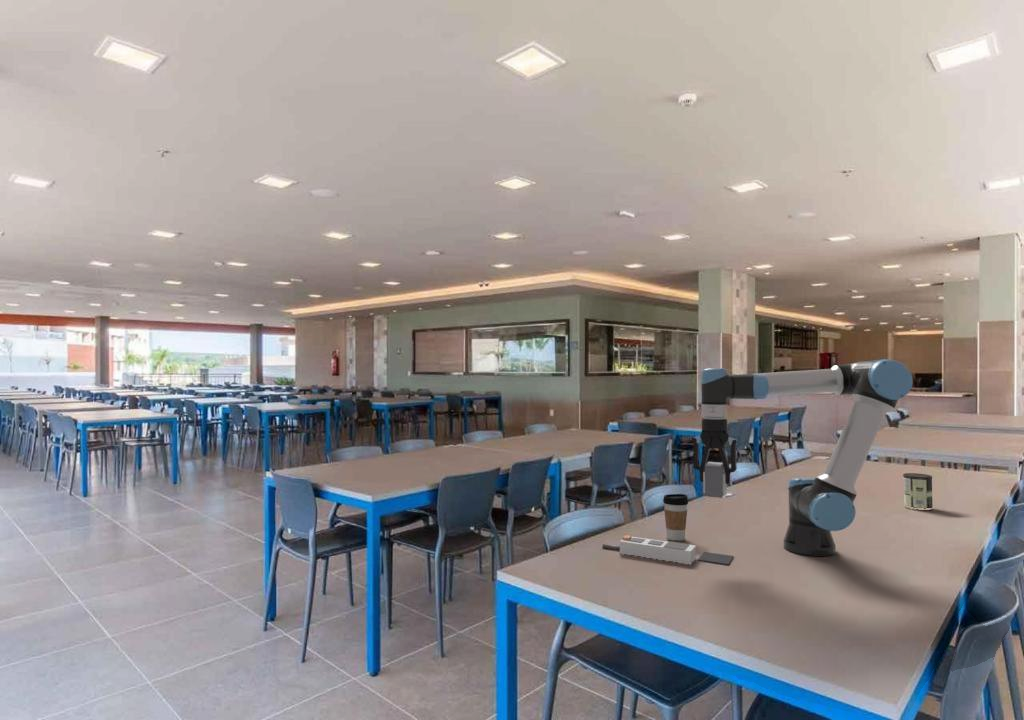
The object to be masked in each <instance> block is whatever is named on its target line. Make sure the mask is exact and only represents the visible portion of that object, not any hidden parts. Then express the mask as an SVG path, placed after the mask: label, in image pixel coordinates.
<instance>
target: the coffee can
mask: <svg viewBox="0 0 1024 720" xmlns="http://www.w3.org/2000/svg"><path fill="white" fill-rule="evenodd" d="M902 477H903V482H902V483H903V506H904V505H906V506H909V507H913V508H924V509H926V508H932V507H933V476H932V475H930V474H926V473H925V474H924V473H913V472H908V473H907V472H906V473H903V474H902Z"/></svg>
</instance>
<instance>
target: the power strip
mask: <svg viewBox="0 0 1024 720" xmlns="http://www.w3.org/2000/svg"><path fill="white" fill-rule="evenodd" d="M606 548H609V549H608V550H613V549H616V550H615V551H619V550H620V551H619V554H620V553H622V554H621V555H624V554H629V555H628V556H630V555H635V556H634V557H637V556H641V557H640V558H643V557H646V558H645V559H649V558H653V559H652V560H656V559H658V560H657V561H662V560H665V561H664V562H669V561H673V562H672V563H675V562H678V563H677V564H682V563H683V564H682V565H688V564H689V566H690V565H692V564H693V563H694V562H695V560H696V558H697V551H696V550H697V546H696V544H695V545H694V544H690V543H683V542H678V541H666V540H660V539H651V538H646V537H645V538H644V537H638V536H637V537H636V536H632V535H627V534H625V535H624V536H622V539H621V540H620V541H619V546H618V545H611V544H602V549H606ZM692 562H693V563H692Z"/></svg>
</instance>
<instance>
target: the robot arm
mask: <svg viewBox="0 0 1024 720" xmlns="http://www.w3.org/2000/svg"><path fill="white" fill-rule="evenodd" d="M700 380H701V381H700V386H701V389H700V391H701V417H703V418H702V419H701V433H700V435H699V436H693V437H692V438H691V441H692V445H693V469H694V470H697V471H699V481H700V482H701V483H703V484H702V486H703V490H702V491H703V492H702V493H703V494H705V465H706V463H707V462H708V458H709V456H710V451H711V449H717V450H718V452H719V455H720V459H721V463H723V467H724V470H725V472H724V473H723V495H725V496H726V495H727V494H728V488H727V487H728V485H730V484H731V474H732V473H734V472H736V471H737V470H738V469H737V446H738V441H739V440H738V439H737V438H732V437H730V435H729V434H728V433H729V432H728V420H727V417H728V399H729V400H733V399H735V400H764V399H766V398H767V396H784V395H787V396H788V395H800V394H801V395H805V394H820V393H822V394H823V393H833V394H834V395H836V396H841V395H842V396H843V395H844V396H845V395H846V396H847V395H848V396H849V395H851V397H852V400H853V401H854V403H853V405H852V407H851V410H850V413H849V415H848V417H847V418H846V421H845V423H844V426H843V429H842V430H841V432H840V435H839V438H838V439H837V442H836V443H835V444H836V445H835V447H834V449H833V451H832V454H831V455H830V458H829V461H827V465H826V467H825V470H824V472H823V473H821V474H820V475H817V476H815V478H812V477H810V478H807V477H805V478H804V477H801V478H800V477H795V478H793V477H792V478H790V479H789V481H788V487H787V490H788V526H787V529H786V532H785V534H784V537H783V548H784V549H785V550H787V551H789V552H791V553H795V554H799V555H805V556H810V557H811V556H812V557H828V556H833V554H834V555H835V554H836V552H837V551H836V546H837V545H836V543H835V540H834V537H833V535H832V532H838V531H842V530H845V529H847V528H848V527H849V526H850V525H851V524H852V523H853V522H854V520H855V517H856V507H855V504H854V501H855V499H856V497H857V495H858V493H857V491H856V489H855V485H856V482H857V480H858V478H859V475H860V473H861V470H862V469H863V465H864V464H865V462H866V459H867V457H868V455H869V452H870V451H871V448H872V446H873V443H874V442H875V438H876V437H877V434H878V432H879V429H880V427H881V425H882V423H883V421H884V419H885V416H886V414H887V413H889V412H893V411H894V410H895V407H896V406H897V404H898V402H899V400H900V399H903V398H904V397H905V396H907V395H908V394H909V393H910V391H911V390H912V388H913V376H912V373H911V371H910V370H909V368H908V367H907V366H906V365H905V364H903V363H902V362H901V361H898V360H894V359H889V358H881V359H874V360H873V359H872V360H871V359H870V360H867V359H866V360H861V361H856V362H852V363H846V364H839V365H838V364H837V365H836V364H835V365H833V366H832V367H830V368H824V369H807V370H805V369H804V370H792V371H791V370H789V371H776V372H772V371H771V372H758V373H757V372H756V373H744V374H728V372H727V369H726V368H704V369H702V371H701V379H700ZM701 441H702V442H703V444H704V445H705V446H704V452H703V454H702V457H701V458H702V459H701V461H700V443H701ZM726 443H728V444H729V445H730V465H729V460H728V457H727V453H726V449H725V445H726Z"/></svg>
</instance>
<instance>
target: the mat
mask: <svg viewBox="0 0 1024 720" xmlns="http://www.w3.org/2000/svg"><path fill="white" fill-rule="evenodd" d="M734 557H735V555H730V554H729V555H728V554H722V553H721V554H720V553H715V552H707V551H703V552H702V554H700V556H699V557H698V559H697V562H702V561H703V563H709V564H710V563H711V564H717V565H722V564H724V566H730V564H731V563H732V561H733V559H734ZM730 562H731V563H730Z"/></svg>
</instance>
